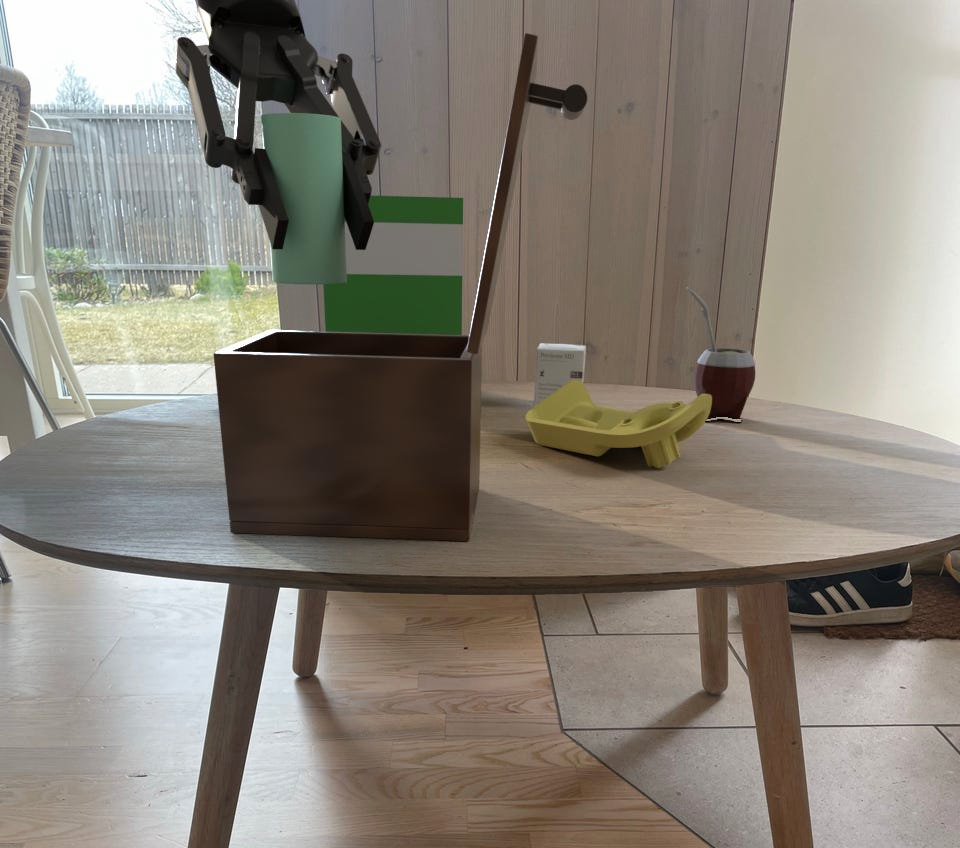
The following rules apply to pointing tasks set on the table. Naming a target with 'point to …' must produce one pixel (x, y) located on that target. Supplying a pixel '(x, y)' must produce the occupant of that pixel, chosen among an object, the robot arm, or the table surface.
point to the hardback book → (403, 270)
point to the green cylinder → (308, 196)
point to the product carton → (557, 368)
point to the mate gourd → (723, 374)
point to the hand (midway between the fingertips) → (323, 235)
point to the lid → (515, 173)
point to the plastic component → (615, 424)
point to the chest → (351, 434)
